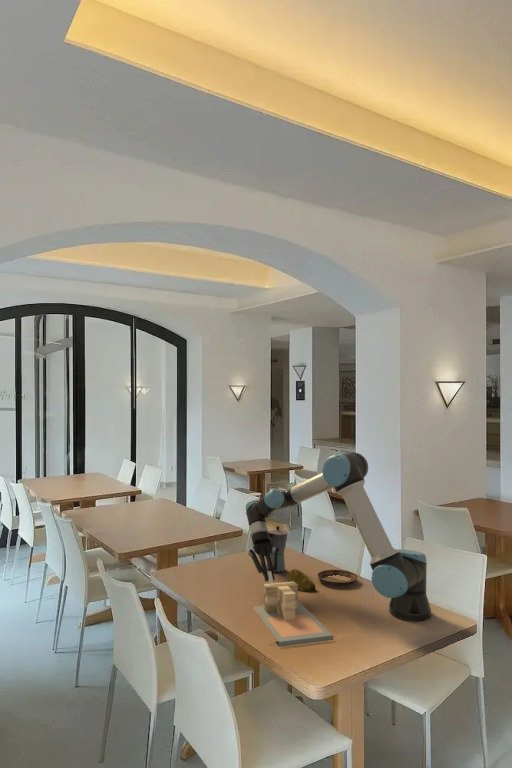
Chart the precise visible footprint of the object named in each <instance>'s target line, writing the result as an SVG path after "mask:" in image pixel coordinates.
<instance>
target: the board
mask: <svg viewBox="0 0 512 768" xmlns="http://www.w3.org/2000/svg"><path fill="white" fill-rule="evenodd" d="M263 608H264V605H260V606H252V609H253V610H254V611H255V612H256V613H257V615H258V616H259V618H260V620H262V622H263V623H264V624H265V626H266V627H267V628H268V629H269V631H270V632H271V634H272V635H273V636H274V638H276V641H275V644H277V646H278V647H286V646H287V647H288V646H295V645H303V644H312V643H320V642H327V641H333V640H334V634H332V632H331V631H330V630H328V628H326V627H325V625H324V624H323V623H321V622H320V620H318V619H317V617H315V616H314V615H313V614H312V612H311V611H310V610H308V609H307V607H306V606H304V605H303V604H302V603H301V602H299V601H298V610H295V619H291V620H284V619H283V618H282V617H281V615H280V614H279V613H278V612H269V613H267V612H266V611H265V610H264V609H263Z"/></svg>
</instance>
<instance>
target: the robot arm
mask: <svg viewBox="0 0 512 768" xmlns="http://www.w3.org/2000/svg"><path fill="white" fill-rule="evenodd" d="M321 471H322V472H320V473H319V474H317V475H315V476H312V477H310V478H308V479H307V480H303V481H302V482H300V483H298V484H296V485H293V486H291V487H290V488H287V489H285V490H280V489H279V490H278V489H276V488H272V489H271V490H269V491H267V493H265V494H264V496H262V497H261V498H260V499H253V500H251V501H248V502H247V503H246V504H245V514H246V516H247V517H246V518H247V522H248V528H249V532H250V536H251V542H252V548H251V549H249V551H248V556H249V557H250V558H251V559H252V561H253V564H254V566H255V568H256V570H257V573H259V574H262V576H263V578H264V582H267V584H271V583H275V582H274V581H275V580H276V577H275V573H277V572H276V570H277V553H278V550H279V548H275V547H273V545H272V544H271V540H270V536H269V533H268V532H269V529H268V525H267V518H268V517H269V516H270V515H271V514H273V513H274V512H276V511H279V510H283V509H288V508H293V507H296V506H298V505H299V504H301V503H303V502H305V501H307V500H309V499H311V498H314V497H315V496H318V495H321V494H322V493H326V492H327V491H330V490H332V489H334V490H335V492H336V494H337V495H339V496H342V498H343V500H344V502H345V504H346V507H347V509H348V511H349V513H350V515H351V517H352V519H353V521H354V524H355V525H356V527H357V530H358V532H359V534H360V536H361V539H362V540H363V543H364V545H365V548H366V549H367V551H368V553H369V555H370V562H369V565H370V568H371V570H372V573H371V583H372V586H373V588H374V589H375V590H376V592H377V593H379V594H380V595H381V596H383V597H385V598H389V599H390V601H389V606H388V609H389V610H388V612H389V613H390V614H391V615H392V616H393V617H395V618H398V619H400V620H404V621H410V622H422V621H428V620H430V618H432V609H431V605H430V601H429V599H428V596H427V595H428V594H427V568H428V567H427V566H428V565H427V564H428V562H427V556H426V554H424V552H421V551H418V550H412V549H405V548H404V549H401V548H400V549H399V548H398V549H396V548H395V547H393V544H392V543H391V541H390V539H389V536H388V535H387V532H386V531H385V528H384V526H383V524H382V523H381V520H380V518H379V517H378V515H377V511H376V510H375V508H374V506H373V504H372V502H371V499H370V498H369V495H368V493H367V492H366V490H365V487H364V485H365V483H366V481H365V477H366V476H367V475H368V473H369V472H368V471H369V463H368V460H367V459H366V457H364V455H362V454H360V453H358V452H354V451H352V452H351V451H349V452H344V453H335V454H333V455H330V456H328V457H327V458H326V459H325V460H324V463H323V466H322V470H321ZM271 550H272V551H273V553H274V554H273V566H272V561H271V557H270V552H271ZM258 557H259V558H258ZM267 565H268V570H267Z"/></svg>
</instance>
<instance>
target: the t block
mask: <svg viewBox="0 0 512 768" xmlns="http://www.w3.org/2000/svg"><path fill="white" fill-rule="evenodd" d="M298 597H299V590H298V585H297V584H296V583H295V582H288V581H285V582H274V583H271V584H268V583H264V584H263V606H264V608H263V609H264V610H265V611H266V612H267V613H269V612H278V613H279V614H280V615H281V617H282V618H283V619H284V620H291V619H295V610H298V602H299V601H298V599H299V598H298Z"/></svg>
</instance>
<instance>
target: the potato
mask: <svg viewBox="0 0 512 768" xmlns="http://www.w3.org/2000/svg"><path fill="white" fill-rule="evenodd" d="M286 579H287V582H295V583H296V584H297V585H298V591H301V592H306V593H307V592H308V593H309V592H310V593H312V592H315V591H316V584H315V582H314V581H313V580H312V579H311V578H310V577H309V576H308V575H307V574H306V573H305V572H303V571H302V570H300V569H298V568H295V569H292V570H289V571H288V572H287V575H286Z"/></svg>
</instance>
